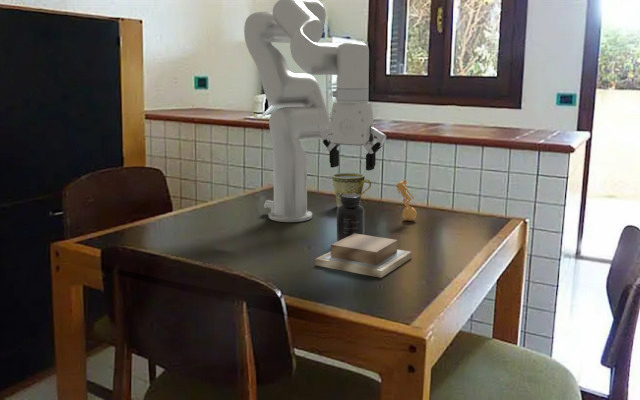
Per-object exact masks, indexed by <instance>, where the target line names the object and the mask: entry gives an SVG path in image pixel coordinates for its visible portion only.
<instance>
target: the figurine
mask: <svg viewBox="0 0 640 400" xmlns="http://www.w3.org/2000/svg"><path fill="white" fill-rule="evenodd" d="M407 184H408V181H407V179H403V180H402V181H399V182H397V185H396V190H397V193H398V195H399V194H401V196H402V197H403V198H404V200H403V205H404V206H405V207H404V209H403V210H402V217H403V219H404V220H406V221H408V222H410V221H413V220H415V219H416V218H417V215H418V213H417V210H416V209H415V208H414V207H413V206H410V205H409V203H410V202H411V201H412V200H414V199H415V198H414V196H413V194H412V193H411V192H410V191H409V189H408V188H407ZM409 195H410V196H409Z"/></svg>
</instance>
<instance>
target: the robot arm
mask: <svg viewBox="0 0 640 400" xmlns="http://www.w3.org/2000/svg"><path fill="white" fill-rule="evenodd" d="M326 19H327V13H326V9H325V7H324V5H323V4H322V3H321V2H320V1H319V0H277V1H276V2H275V3H274V6H273V7H272V11H268V10H267V11H258V12H257V11H256V12H253V13H252V14H250V15H249V16H247V18H246V19H245V22H244V26H243V28H244V29H243V32H244V33H243V34H244V35H243V36H244V41H245V45H246V47H247V50H248V52H249V55H250V56H251V58H252V60H253V62H254V64H255V66H256V68H257V73H258V75H259V79H260V82H261V85H262V88H263V91H264V96H265V98H266V100H267V102H268V103H269V105H271V106H272V107H276V108H277V109H275V110H274V111H273V112H272V113H271V114H270V116H269V121H268V124H269V131H270V136H271V143H272V145H271V146H272V157H273V159H272V160H273V161H272V163H273V164H272V165H273V167H272V168H273V200H269V199H266V200H265V202H264V204H263V207H264V208H265V209H270V212H269V213H268V219H270V220H271V221H275V222H280V223H281V222H282V223H299V222H301V223H302V222H305V221H309V220H311V219H312V218H313V212H312V211H310V210H308V193H307V192H308V176H307V175H308V160H307V159H308V158H307V154H306V151H305V149H304V148H303V147H302V144H301V143H300V142H302V141H311V140H313V141H315V140H320V139H321V140H322V143H323V144H324V146H325V147H326V148H327V151H329V156H328V158H329V166H330V168H337V167H339V165H340V150H338V148H339V147H340V146H357V147H358V146H363V147H364V148H365V150H366V151H367V153H366V154H365V170H366V171H373V170H374V169H375V166H376V162H377V161H376V155H377V153H378V151H380V149H381V148H382V147H383V145H384V143H385V140H386V139H387V135H386V134H385V133H383V132H382V131H380V130H379V129H377V128H375V125H374V124H375V122H374V121H375V120H374V113H373V108H372V107H373V106H372V104H371V102H369V90H370V89H369V84H370V83H369V81H370V80H369V79H370V77H369V75H370V73H369V72H370V49H369V46H368V45H367V44H366V43H364V42H343V43H340V42H339V43H338V42H337V43H335V42H319V41H320V40H321V39H322V36H323V33H324V27H323V26H324V25H325V24H326V23H325V22H326ZM272 43H276V44H277V43H278V44H279V43H281V44H282V43H283V44H289V45H290V46H289V48H290V54H291V58H292V59H293V61H294V62H295V64H296V65H298V66H299V68H301V69H302V70H303V71H304V73H303V72H300V73H299V72H298V73H297V72H295V73H294V72H292V71H290V69H289V66H288V63H287V60H286V58H285V56H284V54H283V53H282V52H281V51H280V50H279V49H278V48H277V47H275V45H273V44H272ZM313 75H314V76H315V75H317V76H319V75H321V76H322V75H323V76H325V75H328V76H329V75H330V76H331V75H333V76H336V89H335V91H334V90H333V91H332V95H331V96H332V97H333V98H335V100H336V101H335V102H333V104H332V107H331V114H330V115H329V112H328V108H327V105H326V101H325V99H324V96H323V94H322V90H321V87H320V83H319V81H317V79H316V78H315V77H314V76H313ZM375 138H377V141H376V143H374V139H375Z"/></svg>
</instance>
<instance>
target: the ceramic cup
mask: <svg viewBox="0 0 640 400" xmlns="http://www.w3.org/2000/svg"><path fill="white" fill-rule="evenodd" d="M365 177H366V175H365V174H363V173H358V172H337V173H333V174H332V176H331V178H332V182H333V183H332V185H333V188H334V195H335V198H336V199H335V200H336V206H337V208H338V207H339V206H340V205H342V204H341V195H343V194H358V195H360V197H362V195H364V194H365V192H367V191H368V190H370V188H371V187H372V182H371V180H369V179H365ZM366 182H367V183H368V184H369V186H368V187H367V188H365V190H363V189H364V183H366Z"/></svg>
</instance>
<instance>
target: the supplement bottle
mask: <svg viewBox="0 0 640 400" xmlns="http://www.w3.org/2000/svg"><path fill="white" fill-rule="evenodd" d="M361 197H362V196H361ZM361 197H360V195H358V194H343V195H341V204H342V205H340V206H339V207H338V206H337V209H336V242H337V241H340V240H342V239H344V238H346V237H348V236H350V235H352V234H354V233H355V234H361V235H365V209H364V207H363V206H362V205H360V204H361V203H362V201H361V199H362V198H361Z"/></svg>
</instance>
